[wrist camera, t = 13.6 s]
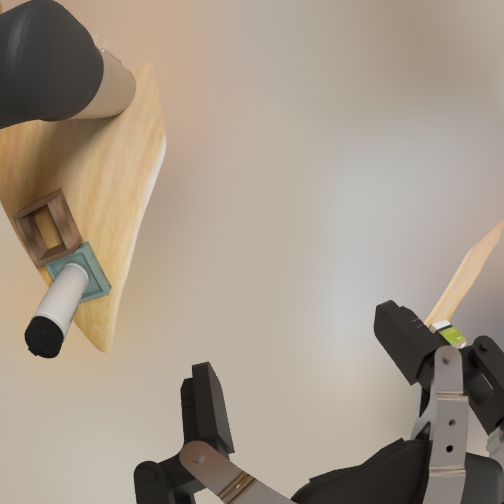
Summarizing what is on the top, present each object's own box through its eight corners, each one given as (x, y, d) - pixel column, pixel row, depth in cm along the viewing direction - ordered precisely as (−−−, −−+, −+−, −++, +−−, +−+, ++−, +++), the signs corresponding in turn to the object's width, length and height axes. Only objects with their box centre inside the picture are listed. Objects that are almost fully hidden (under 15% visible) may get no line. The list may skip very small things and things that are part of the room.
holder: (25, 207, 38) (12, 216, 34) (61, 187, 39) (49, 195, 34) (47, 255, 43) (37, 267, 39) (83, 240, 44) (74, 252, 40)
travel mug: (56, 271, 45) (16, 340, 27) (75, 254, 44) (33, 323, 27) (77, 292, 48) (46, 365, 30) (96, 277, 47) (65, 352, 30)
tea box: (430, 346, 91) (449, 369, 78) (415, 352, 89) (434, 377, 76) (446, 318, 84) (468, 341, 71) (430, 323, 82) (454, 348, 69)
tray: (48, 257, 44) (43, 263, 41) (88, 241, 44) (84, 247, 42) (72, 298, 49) (68, 305, 47) (111, 286, 50) (108, 294, 48)
